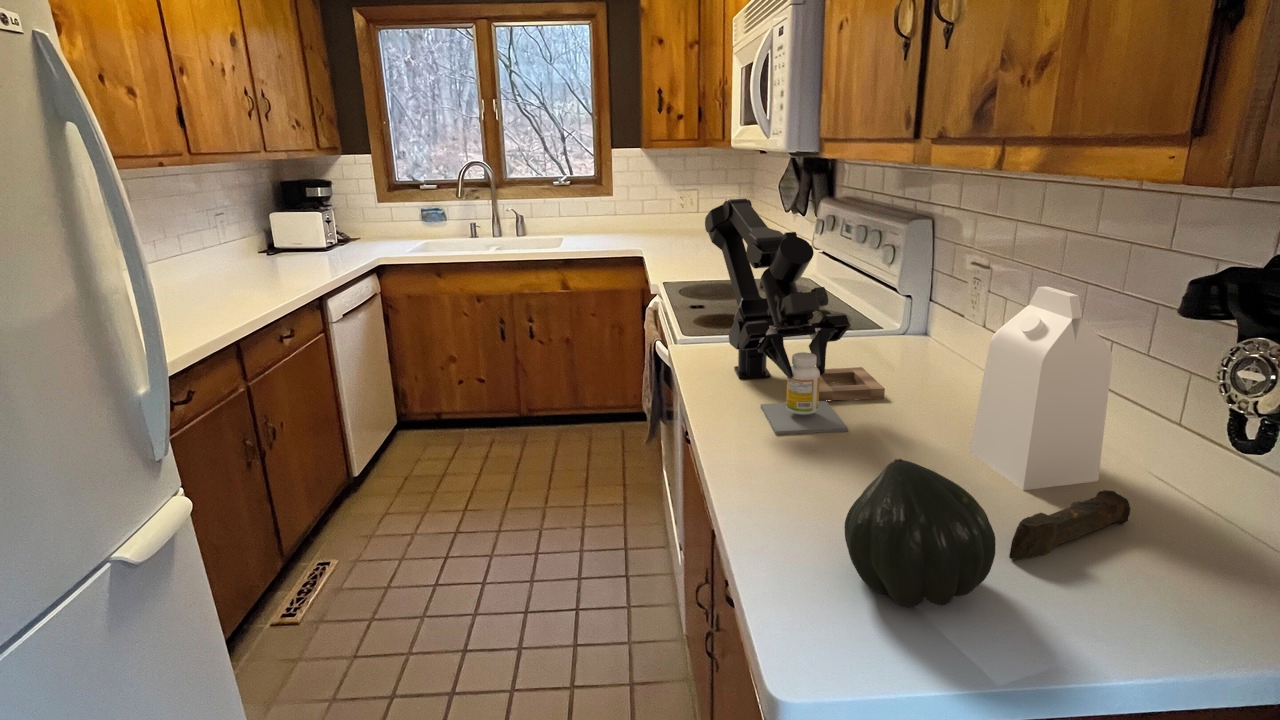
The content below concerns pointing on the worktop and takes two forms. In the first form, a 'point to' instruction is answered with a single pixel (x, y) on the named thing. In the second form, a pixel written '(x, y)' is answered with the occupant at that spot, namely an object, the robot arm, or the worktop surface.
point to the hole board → (862, 389)
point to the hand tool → (1067, 524)
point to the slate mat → (803, 419)
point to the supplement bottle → (803, 384)
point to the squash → (919, 536)
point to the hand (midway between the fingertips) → (806, 375)
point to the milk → (1044, 396)
